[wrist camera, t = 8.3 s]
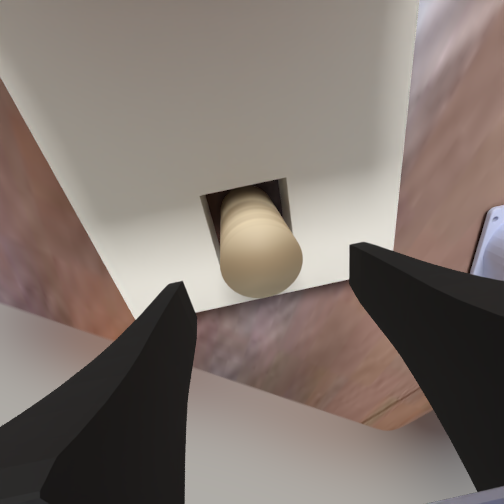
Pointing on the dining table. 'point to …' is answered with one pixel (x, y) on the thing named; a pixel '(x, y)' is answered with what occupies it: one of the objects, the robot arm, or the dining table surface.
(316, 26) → the station
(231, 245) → the peg
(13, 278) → the dining table surface
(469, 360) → the robot arm
